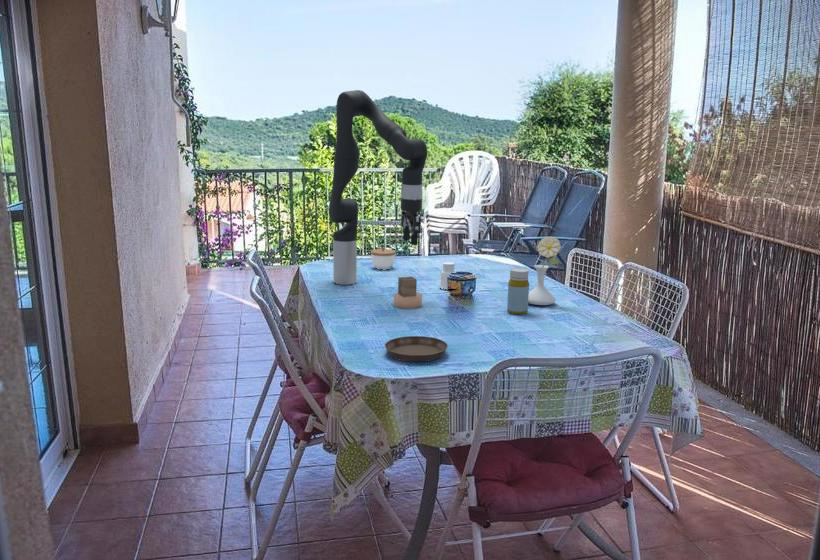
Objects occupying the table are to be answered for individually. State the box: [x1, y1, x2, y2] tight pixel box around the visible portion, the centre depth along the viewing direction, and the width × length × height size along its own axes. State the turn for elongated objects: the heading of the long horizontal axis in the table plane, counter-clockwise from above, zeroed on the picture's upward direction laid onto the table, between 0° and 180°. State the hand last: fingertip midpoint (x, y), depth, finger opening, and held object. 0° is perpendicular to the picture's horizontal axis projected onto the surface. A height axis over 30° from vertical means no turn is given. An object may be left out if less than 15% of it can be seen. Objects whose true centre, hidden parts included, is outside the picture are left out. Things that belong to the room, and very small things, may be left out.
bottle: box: [506, 267, 530, 315], centre depth 252 cm, size 7×7×15 cm
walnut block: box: [397, 276, 417, 297], centre depth 259 cm, size 5×5×6 cm
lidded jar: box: [370, 246, 397, 270], centre depth 320 cm, size 11×11×9 cm
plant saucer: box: [384, 335, 449, 362], centre depth 208 cm, size 18×18×3 cm
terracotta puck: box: [393, 291, 423, 310], centre depth 260 cm, size 10×10×4 cm
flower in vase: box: [528, 235, 562, 306], centre depth 263 cm, size 13×11×25 cm
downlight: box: [440, 262, 457, 290], centre depth 286 cm, size 8×7×10 cm
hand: (410, 242), depth 263 cm, fingers open, 8 cm apart
